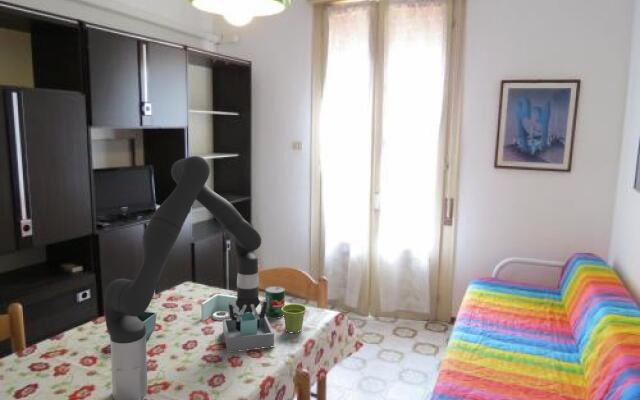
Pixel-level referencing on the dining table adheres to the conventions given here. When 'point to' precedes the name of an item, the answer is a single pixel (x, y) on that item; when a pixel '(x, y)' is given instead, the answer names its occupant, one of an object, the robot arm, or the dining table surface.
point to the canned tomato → (274, 301)
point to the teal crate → (248, 324)
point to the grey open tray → (250, 341)
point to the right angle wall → (218, 307)
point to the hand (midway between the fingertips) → (247, 329)
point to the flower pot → (148, 322)
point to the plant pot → (293, 317)
